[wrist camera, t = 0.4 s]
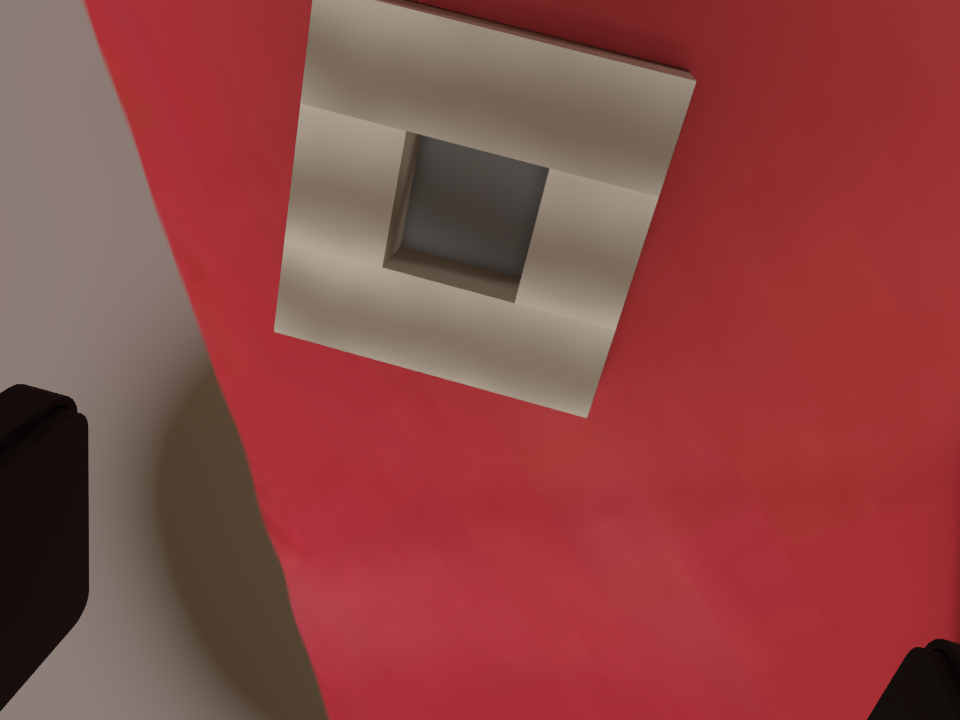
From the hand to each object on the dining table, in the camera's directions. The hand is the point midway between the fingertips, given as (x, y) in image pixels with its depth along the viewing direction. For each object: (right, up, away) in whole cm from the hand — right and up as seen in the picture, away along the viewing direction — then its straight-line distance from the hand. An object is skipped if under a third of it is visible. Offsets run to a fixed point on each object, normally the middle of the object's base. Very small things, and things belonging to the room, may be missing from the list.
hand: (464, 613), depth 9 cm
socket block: (0, +10, +26) cm, 28 cm away
